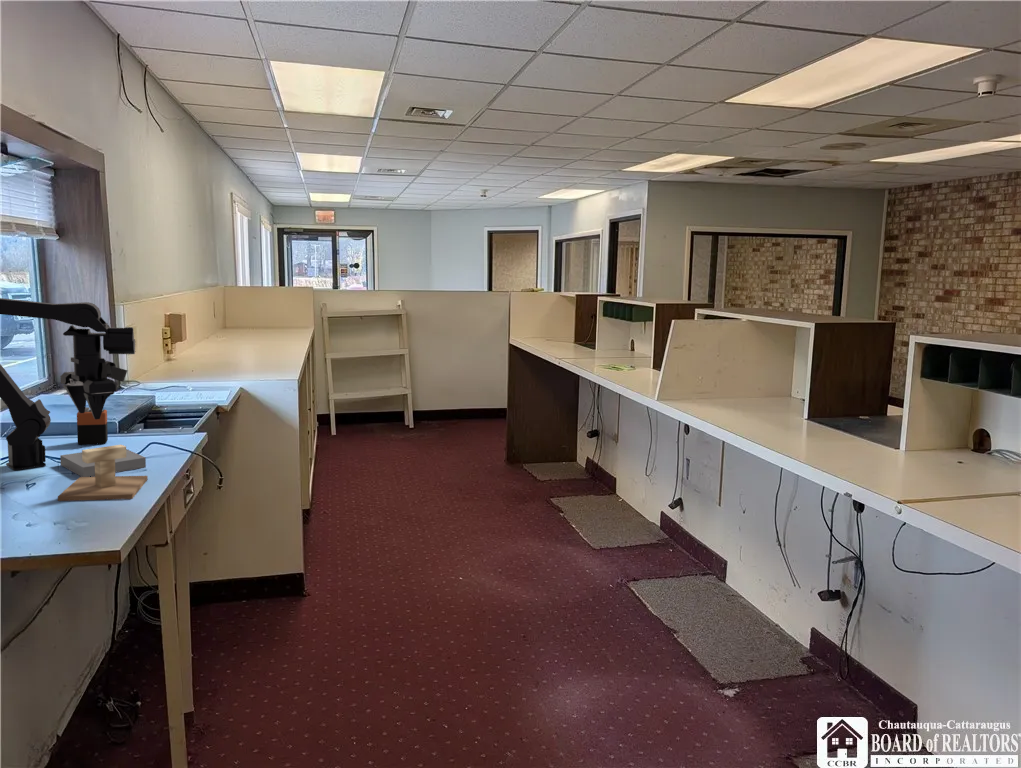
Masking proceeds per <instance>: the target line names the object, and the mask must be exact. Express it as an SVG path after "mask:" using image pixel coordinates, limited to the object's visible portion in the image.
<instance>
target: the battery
mask: <svg viewBox="0 0 1021 768" xmlns="http://www.w3.org/2000/svg"><path fill="white" fill-rule="evenodd" d="M76 431H77V432H76V433H77V434H76V435H77V436H76V437H77V444H78V446H87V445H104V444H105V445H106V444H107V442H108V440H109V439H108V438H109V437H108V410H107V409H103V410H102V414H101V417H100V419H94V417H93V415H92V412H91V410H90V408H89V406H88V407H87V406H86V408H85V413H79V411H78V410H77V413H76Z"/></svg>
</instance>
